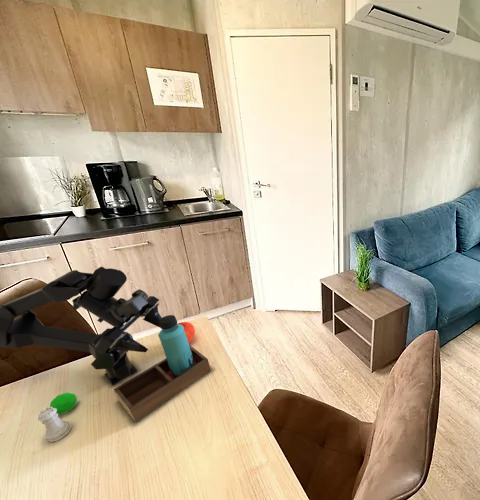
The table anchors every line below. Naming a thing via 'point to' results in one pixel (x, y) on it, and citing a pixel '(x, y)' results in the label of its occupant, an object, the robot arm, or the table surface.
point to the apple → (188, 330)
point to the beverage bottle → (175, 345)
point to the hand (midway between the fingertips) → (157, 339)
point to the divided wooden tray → (158, 386)
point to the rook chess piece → (53, 424)
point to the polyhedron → (64, 402)
